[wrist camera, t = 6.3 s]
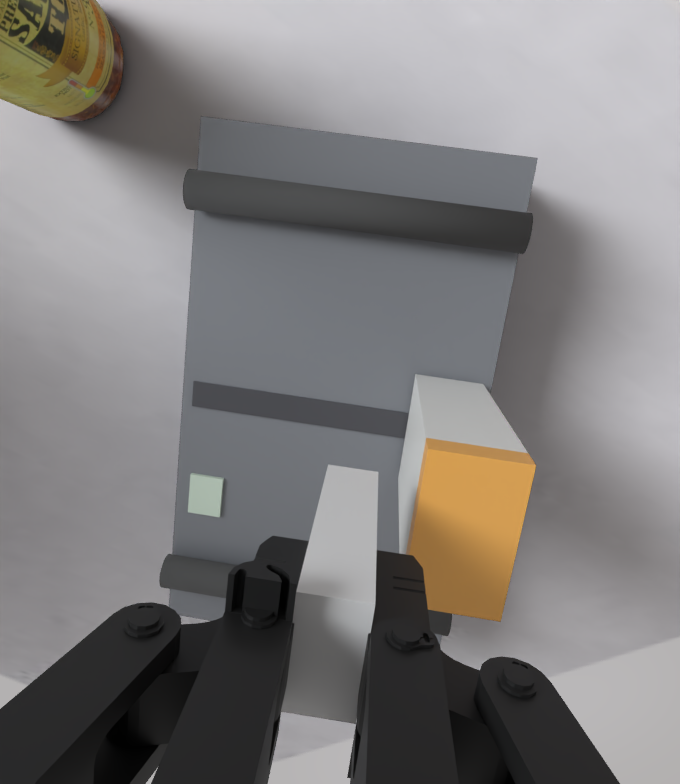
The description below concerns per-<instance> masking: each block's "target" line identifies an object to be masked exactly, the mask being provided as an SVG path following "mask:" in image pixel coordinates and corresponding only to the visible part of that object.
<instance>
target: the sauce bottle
mask: <svg viewBox="0 0 680 784" xmlns="http://www.w3.org/2000/svg"><path fill="white" fill-rule="evenodd" d="M122 75H123V49H122V47H121V41H120V36H119V35H118V33H117V32H116V29H115V27H114V26H113V25H112V23H111V21H110V20H109V19H108V17H107V15H106V14H105V13H104V11H103V10H102V8H101V7H100V5H99V4H98V3H97V1H96V0H0V99H3V100H5V101H7V102H10V103H12V104H14V105H17V106H19V107H22V108H24V109H26V110H28V111H31V112H34V113H37V114H39V115H43V116H48V117H51V118H53V119H56V120H65V121H81V120H83V121H84V120H86V119H89V118H93V117H95V116H97V115H99V114H100V113H102V112H103V111H104V110H105V109H106V108H107V107H109V106H110V104H111V103H112V101H113V100H114V99H115V97H116V95H117V93H118V91H119V89H120V85H121V80H122Z"/></svg>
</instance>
